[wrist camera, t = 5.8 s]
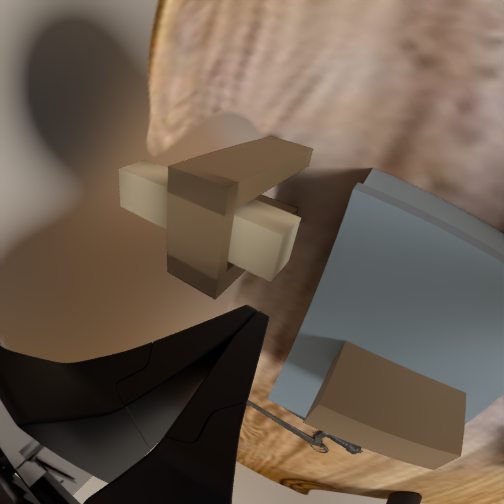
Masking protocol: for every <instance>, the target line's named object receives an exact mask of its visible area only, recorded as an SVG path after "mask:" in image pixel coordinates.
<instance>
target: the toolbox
mask: <svg viewBox="0 0 504 504" xmlns="http://www.w3.org/2000/svg"><path fill="white" fill-rule="evenodd" d="M312 151H313V149H311V148H308V147H305V146H302V145H299V144H295V143H292V142H289V141H286V140H282V139H279V138H275V137H272V136H271V137H267V138H262V139H258V140H254V141H251V142H247V143H243V144H239V145H235V146H232V147H228V148H225V149H221V150H218V151H214V152H211V153H208V154H204V155H201V156H198V157H195V158H191V159H188V160H186V161H182V162H179V163H176V164H173V165H171V166H168V186H167V269H168V272H169V273H170V274H172V275H174V276H175V277H177V278H179V279H180V280H182V281H184V282H185V283H187V284H189V285H191V286H192V287H194V288H196V289H197V290H199V291H201V292H203V293H204V294H206V295H208V296H210V297H212V298H213V299H216V298H217V297H218V296H219V295H220V294H222V292H224V291H225V290H226V289H227V288H228V287H229V286H230V285H231V284H232V283H233V282H234V281H235V280H236V279H237V278H238V277H239V276H240V275H241V274H242V273H243V272H244V271H245V270H244V269H242V268H240V267H238V266H236V265H234V264H232V263H230V262H228V255H229V248H230V240H231V233H232V226H233V219H234V213H235V210H236V209H238V208H239V207H241V206H243V205H244V204H246V203H248V202H249V201H251V200H252V199H255V200H258V201H261V202H263V203H266V204H268V205H271V206H273V207H276V208H278V209H281V210H283V211H286V212H288V213H291V214H293V215H296V214H297V210H298V209H297V208H295V207H292V206H290V205H287V204H285V203H282V202H280V201H277V200H274V199H272V198H269V197H267V196H264V195H261V194H262V193H264V192H266V191H267V190H269V189H271V188H272V187H274V186H276V185H277V184H279V183H281V182H282V181H284V180H286V179H287V178H289V177H291V176H293V175H294V174H296V173H298V172H299V171H301V170H303V169H305V168H306V167H308V166H309V163H310V159H311V155H312ZM363 184H364V185H366V186H369V187H371V188H373V189H376V190H378V191H380V192H383V193H385V194H387V195H390V196H392V197H394V198H396V199H399V200H401V201H403V202H405V203H407V204H410V205H412V206H414V207H416V208H418V209H420V210H422V211H424V212H426V213H428V214H430V215H433V216H435V217H437V218H438V219H440V220H442V221H444V222H446V223H448V224H450V225H452V226H454V227H456V228H458V229H460V230H461V231H463V232H465V233H467V234H469V235H471V236H472V237H474V238H476V239H478V240H479V241H481V242H483V243H485V244H486V245H488V246H490V247H491V248H493V249H495V250H496V251H498V252H500V253H501V254H503V255H504V234H503V233H502V232H500V231H498V230H497V229H495V228H493V227H492V226H490V225H488V224H487V223H485V222H483V221H482V220H480V219H478V218H476V217H475V216H473V215H471V214H469V213H468V212H466V211H464V210H462V209H460V208H458V207H456V206H455V205H453V204H451V203H449V202H447V201H445V200H443V199H441V198H439V197H437V196H435V195H433V194H431V193H429V192H427V191H425V190H423V189H420V188H418V187H416V186H414V185H412V184H410V183H407V182H405V181H403V180H401V179H398V178H396V177H394V176H392V175H389V174H387V173H384V172H382V171H380V170H377V169H375V168H373V169H372V170H371V172H370V174H369V175H368V177H367V179H366V180H365V182H364V183H363Z"/></svg>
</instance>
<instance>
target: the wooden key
mask: <svg viewBox="0 0 504 504" xmlns="http://www.w3.org/2000/svg"><path fill="white" fill-rule="evenodd" d="M167 186H168V168H167V167H164V166H161V165H158V164H155V163H152V162H149V161H146V160H143V161H140V162H137V163H134V164H131V165H128V166H125V167H122V168H119V192H120V207H122V208H124V209H126V210H128V211H130V212H132V213H134V214H136V215H138V216H140V217H142V218H143V219H145V220H147V221H149V222H151V223H153V224H155V225H157V226H159V227H161V228H163V229H165V230H167ZM300 220H301V218H300V217H298V216H296V215H293V214H291V213H288V212H286V211H283V210H281V209H278V208H276V207H273V206H271V205H268V204H266V203H263V202H261V201H258V200H255V199H252V200H251V201H249V202H248V203H246V204H244V205H243V206H241V207H239V208H238V209H236V210H235V213H234V219H233V226H232V233H231V240H230V248H229V255H228V262H230V263H232V264H234V265H236V266H238V267H240V268H242V269H244V270H246V271H248V272H251V273H253V274H255V275H257V276H259V277H261V278H263V279H265V280H267V281H269V282H271V281H272V280H273V279H274V278H275V277H276V275H277V274H278V273H279V272H280V271H281V270H282V268H283V267H284V266H285V265H286V264H287V262H288V261H289V259H290V255H291V252H292V248H293V245H294V241H295V238H296V234H297V231H298V227H299V224H300Z"/></svg>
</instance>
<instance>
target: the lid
mask: <svg viewBox="0 0 504 504" xmlns="http://www.w3.org/2000/svg"><path fill="white" fill-rule="evenodd" d="M502 394H504V255H503V254H501V253H500V252H498V251H496V250H495V249H493V248H491V247H490V246H488V245H486V244H485V243H483V242H481V241H479V240H478V239H476V238H474V237H472V236H471V235H469V234H467V233H465V232H463V231H461V230H460V229H458V228H456V227H454V226H452V225H450V224H448V223H446V222H444V221H442V220H440V219H438V218H437V217H435V216H433V215H430V214H428V213H426V212H424V211H422V210H420V209H418V208H416V207H414V206H412V205H410V204H407V203H405V202H403V201H401V200H399V199H396V198H394V197H392V196H390V195H387V194H385V193H383V192H380V191H378V190H376V189H373V188H371V187H369V186H366V185H364V184H361V183H359V182H358V183H357V184H356V186H355V187H354V189H353V191H352V194H351V197H350V200H349V203H348V206H347V209H346V212H345V215H344V218H343V221H342V224H341V227H340V229H339V232H338V235H337V238H336V240H335V243H334V246H333V249H332V251H331V254H330V257H329V259H328V262H327V264H326V267H325V270H324V272H323V275H322V277H321V280H320V282H319V285H318V287H317V290H316V292H315V295H314V297H313V300H312V302H311V304H310V307H309V309H308V312H307V314H306V316H305V319H304V321H303V323H302V326H301V328H300V330H299V332H298V335H297V337H296V339H295V341H294V344H293V346H292V348H291V350H290V352H289V355H288V357H287V359H286V361H285V363H284V365H283V368H282V370H281V372H280V374H279V376H278V378H277V380H276V382H275V384H274V386H273V388H272V390H271V392H270V394H269V396H268V398H267V399H268V400H270V401H272V402H274V403H276V404H278V405H280V406H282V407H284V408H286V409H288V410H290V411H292V412H294V413H296V414H298V415H300V416H302V417H304V418H305V419H304V421H303V423H306V424H308V425H310V426H312V427H314V428H316V429H319V430H321V431H323V432H325V433H328V434H330V435H332V436H335V437H337V438H340V439H342V440H345V441H347V442H350V443H352V444H355V445H357V446H360V447H362V448H365V449H368V450H371V451H373V452H376V453H379V454H382V455H385V456H388V457H391V458H394V459H397V460H400V461H404V462H407V463H410V464H414V465H417V466H421V467H424V468H428V469H432V470H435V469H437V468H439V467H441V466H443V465H445V464H447V463H449V462H451V461H453V460H455V459H456V458H458V457H460V456H461V452H462V444H463V435H464V425H465V424H466V423H467V422H468V421H470V420H471V419H472V418H474V417H475V416H477V415H478V414H479V413H480V412H482V411H483V410H484V409H486V408H487V407H488V406H489V405H491V404H492V403H493V402H494V401H495V400H497V399H498V398H499V397H500V396H501V395H502Z"/></svg>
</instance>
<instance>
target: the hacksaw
mask: <svg viewBox="0 0 504 504" xmlns="http://www.w3.org/2000/svg"><path fill="white" fill-rule="evenodd" d="M248 404H249V405H250V406H252V407H253V408H255V409H256V410H259V411H260V412H261V413H263V414H264V415H266V416H267V417H269V418H271V419H272V420H274V421H275V422H277V423H278V424H280V425H282V426H284V428H286V429H288V430H290V431H291V432H293V433H294V434H296V435H298V436H300V437H301V438H302V439H304V440H306V441H307V442H309V443H311V444H312V445H316V446H320V448H321V447H322V448H324V449H325V450H326V451H325V452H321V451H318V450H316V449H314V448H313V447H312V446H311V447H312V448H313V449H314V450H316V451H318V452H321V453H327V452H328V451H329V450H328V448H327V447H325V446H324V444H322V442H323V441H322V439H321V438H323V437H325V436H327V437H328V438H330V439H331V440H333V441H335V442H336V443H338V444H339V445H341V446H342V447H344V448H346V450H347V451H348V452H350V453H351V454H356V453H359V452H360V453H361V452H363V451H362V450H361V447H360V446H357V445H355V444H352V443H350V442H347V441H345V440H342V439H340V438H337V437H335V436H332V435H330V434H328V433H325V432H323V431H321V432H320V433H318V434H317V435H316V436H315V438H312V437H310V436H308V435H307V434H305V433H303V432H302V431H300V430H298V429H296V428H294V427H293V426H291V425H289V424H288V423H286V422H284V421H282V420H281V419H279V418H277V417H276V416H274V415H272V414H271V413H269V412H267V411H266V410H264V409H262V408H261V407H259V406H257V405H256V404H254V403H252V402H251V401H249V400H248V401H247V405H248ZM249 405H248V406H249ZM283 408H284V407H283ZM285 409H286V408H285ZM287 410H288V409H287ZM288 411H290V410H288ZM290 412H291V413H293V414H294V415H296V416H297V417H299V418H301V419H302V420H304V419H305V418H304V417H302V416H300V415H298V414H296V413H294V412H292V411H290ZM313 433H314V432H313Z"/></svg>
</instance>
